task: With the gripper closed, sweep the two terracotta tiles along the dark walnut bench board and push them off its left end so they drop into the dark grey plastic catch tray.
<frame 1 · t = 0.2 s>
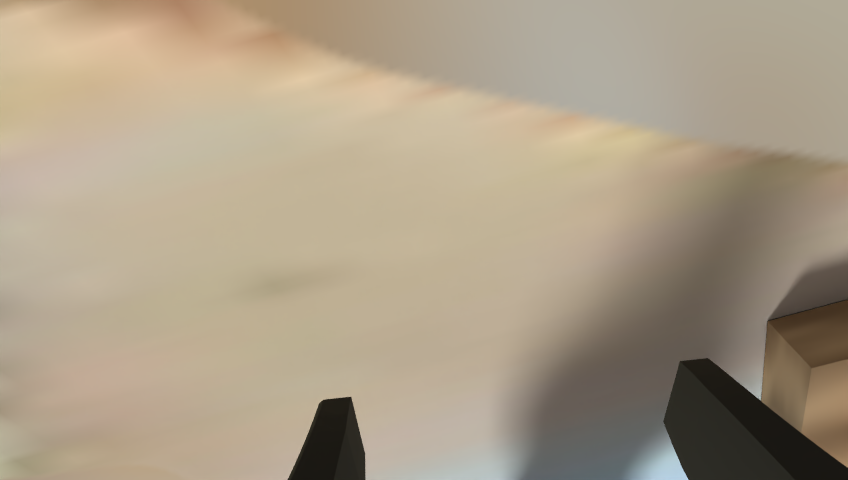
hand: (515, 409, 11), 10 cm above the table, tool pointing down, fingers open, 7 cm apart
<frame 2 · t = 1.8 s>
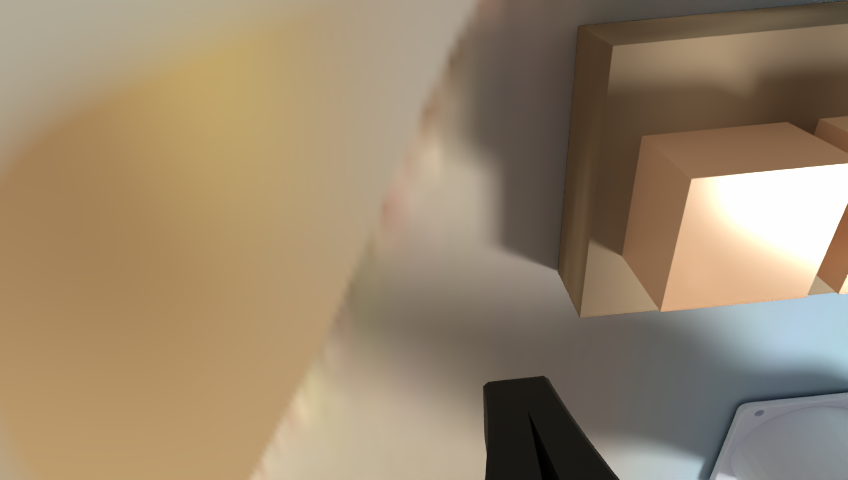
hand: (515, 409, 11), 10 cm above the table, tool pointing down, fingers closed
bench board: (735, 149, 19), on the table
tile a: (698, 193, 17), point 3 cm above the table, touching bench board
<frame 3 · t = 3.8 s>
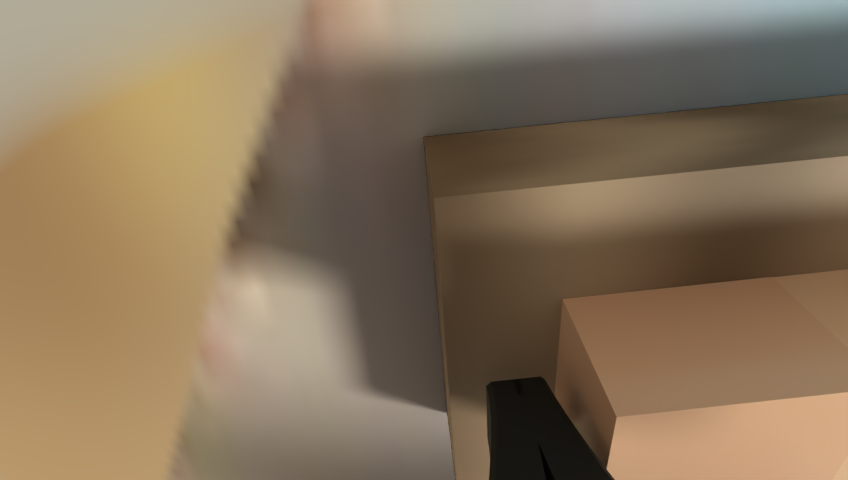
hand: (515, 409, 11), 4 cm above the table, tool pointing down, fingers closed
tile b: (836, 342, 12), point 3 cm above the table, touching bench board, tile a
bench board: (662, 278, 15), on the table
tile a: (650, 361, 12), point 3 cm above the table, touching gripper, tile b
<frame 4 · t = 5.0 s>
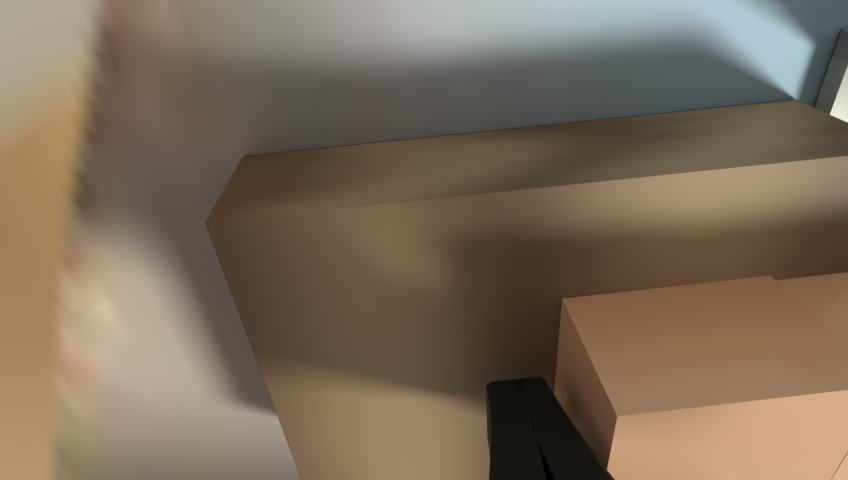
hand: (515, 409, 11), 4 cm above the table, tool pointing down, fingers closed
tile b: (834, 344, 12), point 3 cm above the table, touching bench board, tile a
bench board: (517, 293, 15), on the table
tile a: (649, 361, 12), point 3 cm above the table, touching bench board, gripper, tile b
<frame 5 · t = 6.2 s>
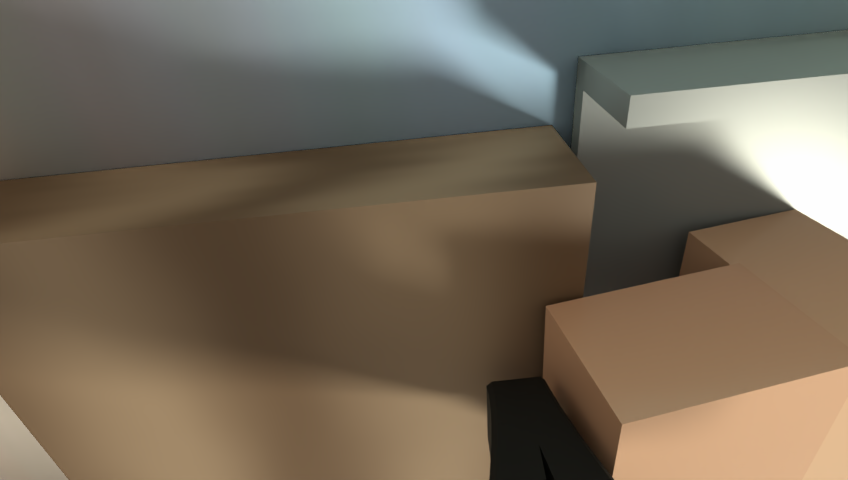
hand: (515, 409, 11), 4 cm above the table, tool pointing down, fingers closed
catch tray: (756, 269, 15), on the table
tile b: (732, 360, 12), point 3 cm above the table, tilted 98°, touching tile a
bench board: (316, 314, 14), on the table
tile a: (631, 357, 12), point 3 cm above the table, tilted 8°, touching gripper, tile b
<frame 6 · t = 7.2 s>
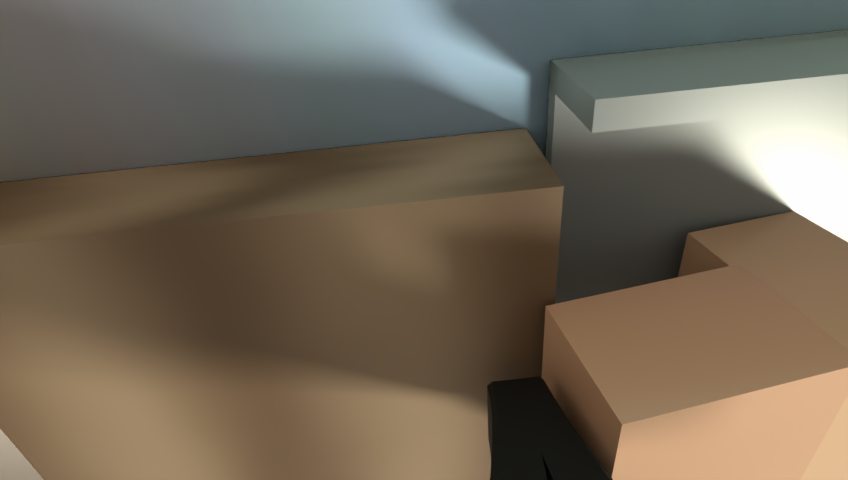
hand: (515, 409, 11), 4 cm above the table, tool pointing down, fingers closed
catch tray: (735, 271, 15), on the table
tile b: (730, 361, 12), point 3 cm above the table, tilted 98°, touching catch tray, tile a
bench board: (296, 317, 14), on the table
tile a: (630, 358, 12), point 3 cm above the table, tilted 8°, touching gripper, tile b
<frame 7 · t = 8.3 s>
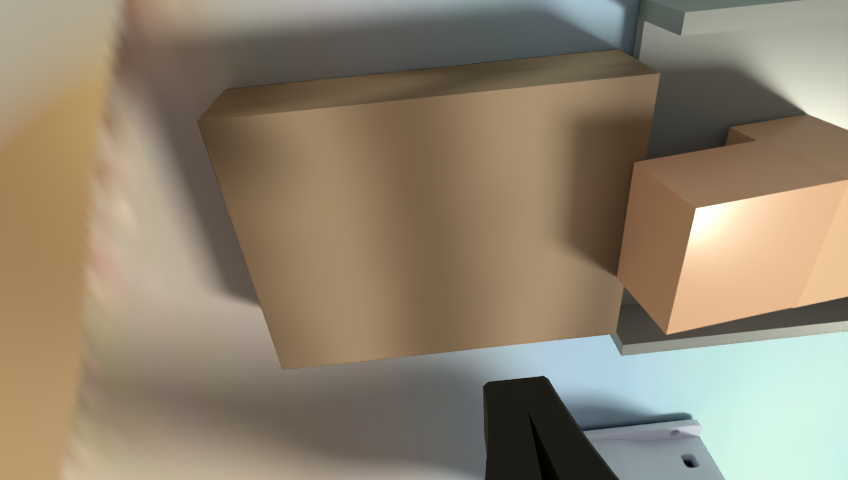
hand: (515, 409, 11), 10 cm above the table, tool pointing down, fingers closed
catch tray: (762, 167, 19), on the table
tile b: (759, 214, 17), point 3 cm above the table, tilted 97°, touching catch tray, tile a
bench board: (433, 201, 19), on the table
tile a: (687, 212, 17), point 3 cm above the table, tilted 7°, touching bench board, tile b
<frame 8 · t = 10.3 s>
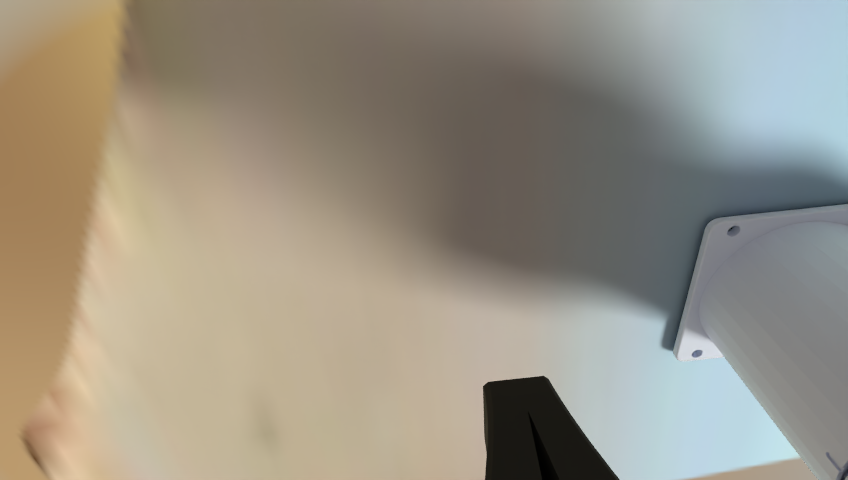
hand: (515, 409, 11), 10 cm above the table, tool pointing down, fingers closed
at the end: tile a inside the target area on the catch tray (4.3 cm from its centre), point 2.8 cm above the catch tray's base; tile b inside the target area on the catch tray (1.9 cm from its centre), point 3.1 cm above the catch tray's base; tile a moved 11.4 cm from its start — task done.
